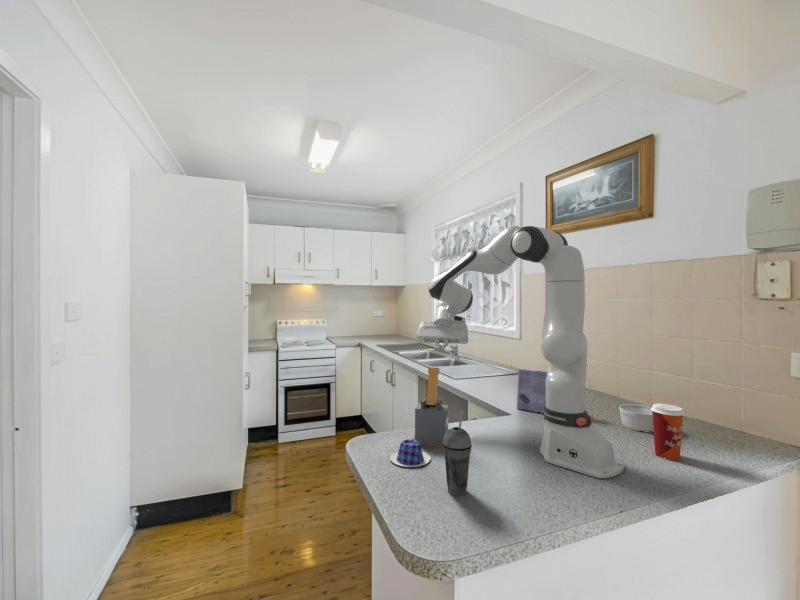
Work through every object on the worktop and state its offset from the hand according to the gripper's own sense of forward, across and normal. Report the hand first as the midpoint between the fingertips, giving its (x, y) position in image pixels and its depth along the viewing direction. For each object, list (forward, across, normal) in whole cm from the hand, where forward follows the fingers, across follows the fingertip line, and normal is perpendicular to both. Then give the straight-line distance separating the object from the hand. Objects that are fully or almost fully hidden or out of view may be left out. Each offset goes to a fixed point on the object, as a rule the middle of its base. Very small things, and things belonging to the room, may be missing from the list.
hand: (440, 350), depth 136 cm
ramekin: (+7, +72, +34) cm, 80 cm away
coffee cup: (+26, +71, +15) cm, 77 cm away
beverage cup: (+53, +12, -12) cm, 55 cm away
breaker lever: (+24, 0, -2) cm, 24 cm away
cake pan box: (0, +38, +40) cm, 56 cm away
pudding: (+43, -4, -2) cm, 43 cm away
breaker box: (+32, 0, +8) cm, 33 cm away
